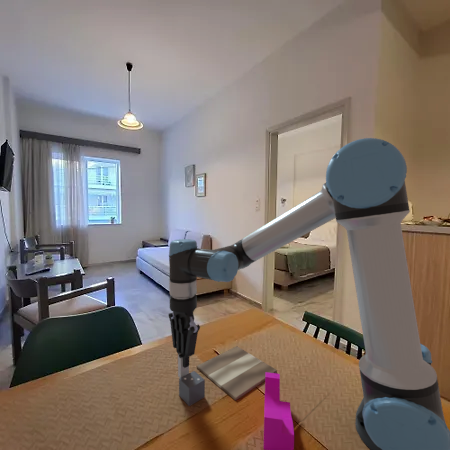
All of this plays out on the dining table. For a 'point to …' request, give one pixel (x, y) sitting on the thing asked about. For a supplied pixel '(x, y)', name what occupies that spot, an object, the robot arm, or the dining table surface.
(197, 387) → the die
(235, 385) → the board
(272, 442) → the toy block
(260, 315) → the dining table surface
